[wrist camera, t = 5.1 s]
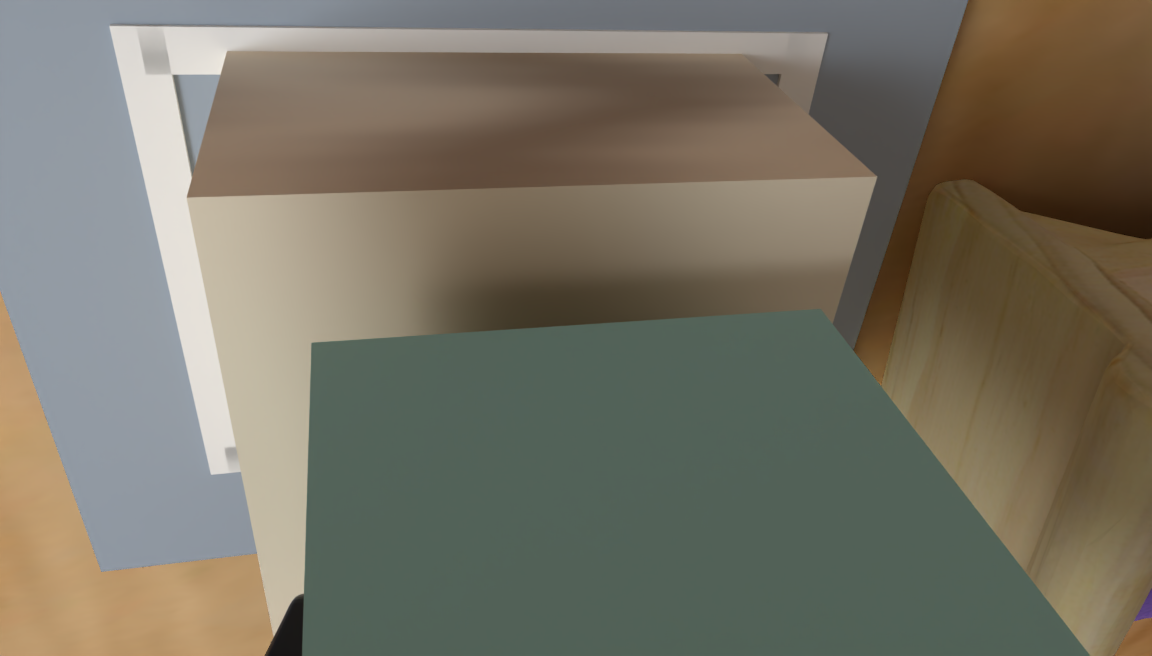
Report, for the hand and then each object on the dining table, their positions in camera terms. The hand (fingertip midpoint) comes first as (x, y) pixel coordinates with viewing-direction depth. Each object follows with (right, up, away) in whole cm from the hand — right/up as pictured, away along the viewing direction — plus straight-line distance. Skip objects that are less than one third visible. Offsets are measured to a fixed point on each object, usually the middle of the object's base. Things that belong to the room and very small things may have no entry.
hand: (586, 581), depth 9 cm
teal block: (0, +1, +1) cm, 1 cm away
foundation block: (-1, +4, +5) cm, 6 cm away
